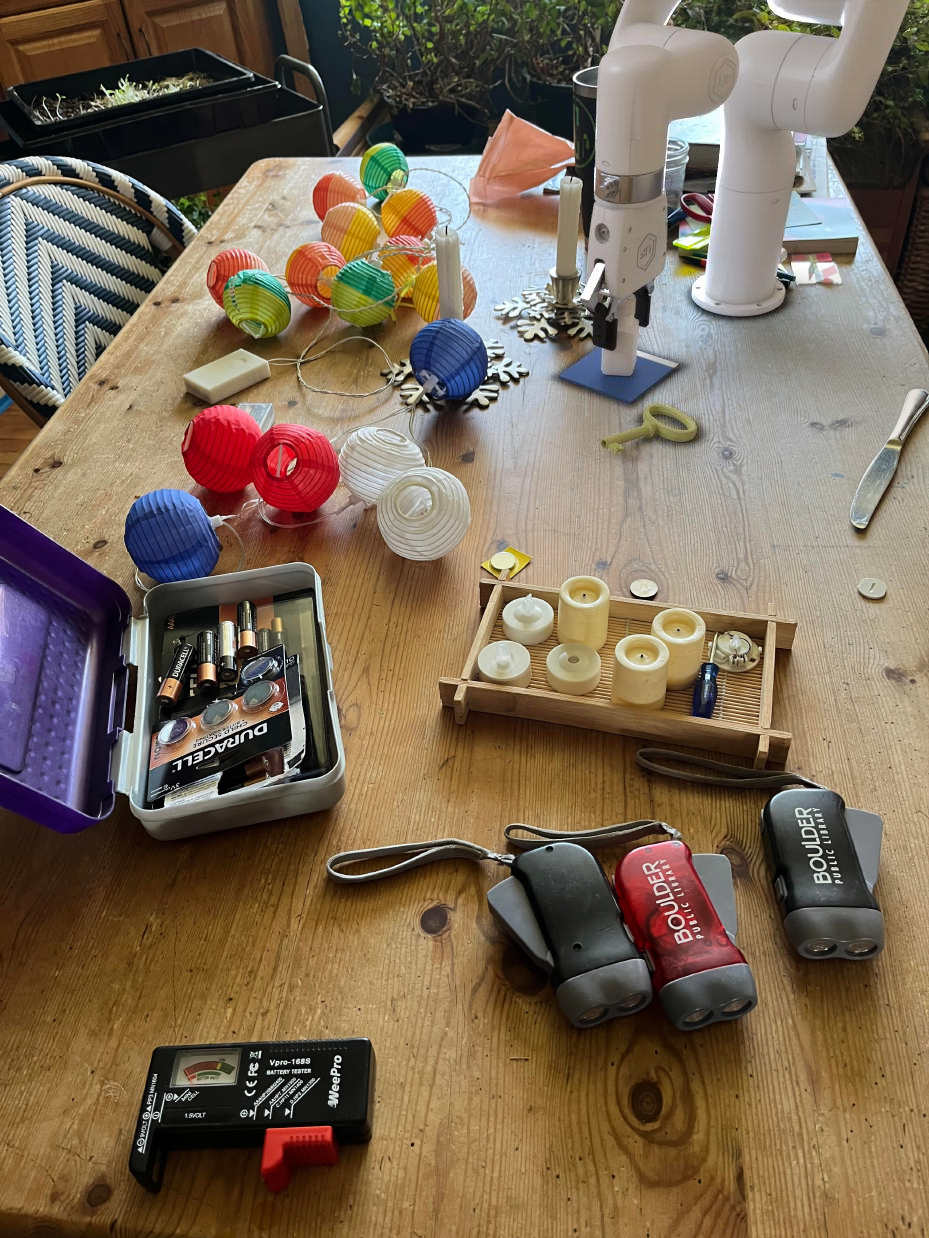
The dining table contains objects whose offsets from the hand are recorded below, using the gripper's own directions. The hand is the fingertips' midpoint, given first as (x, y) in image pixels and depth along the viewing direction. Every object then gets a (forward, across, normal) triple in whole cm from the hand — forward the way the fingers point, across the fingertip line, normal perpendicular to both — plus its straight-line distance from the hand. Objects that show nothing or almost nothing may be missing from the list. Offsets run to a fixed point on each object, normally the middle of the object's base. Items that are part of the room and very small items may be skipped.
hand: (620, 334), depth 107 cm
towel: (+5, 0, 0) cm, 5 cm away
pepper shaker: (+5, 0, 0) cm, 5 cm away
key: (+5, -10, -11) cm, 16 cm away
